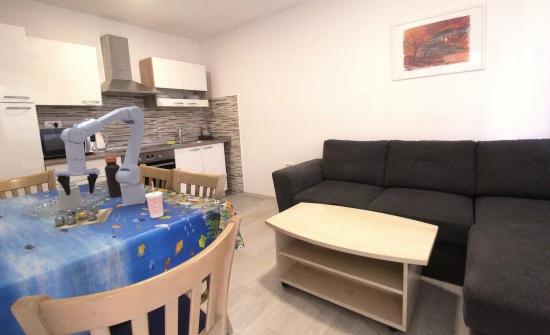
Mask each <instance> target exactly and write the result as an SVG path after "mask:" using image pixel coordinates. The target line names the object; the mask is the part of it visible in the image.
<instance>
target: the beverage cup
mask: <svg viewBox="0 0 550 335" xmlns="http://www.w3.org/2000/svg"><path fill="white" fill-rule="evenodd" d="M151 189H152V192H148V193H145V196H146V201H147V202H146V203H147V207H148V210H149V211H148V212H149V216H150V218H152V219H157V218H160V217H163V216H164V206H163V195H164V194H163V192H162V191H155V188H154V182H153V180H151Z"/></svg>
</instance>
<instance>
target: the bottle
mask: <svg viewBox="0 0 550 335" xmlns="http://www.w3.org/2000/svg"><path fill="white" fill-rule="evenodd" d="M117 160H118V159H117V156H107V157H104V161H105V164H106V165H105V166H104V173H105V179H106V185H107V189H108V195H109V197H110V198H117V197H118V198H119V197H122V193H121V187H120V183H119V182H118V181H117V180H116V173H117V172H118V171H119V168H120V166H121V165H119V164H117Z"/></svg>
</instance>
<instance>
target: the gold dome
mask: <svg viewBox="0 0 550 335" xmlns="http://www.w3.org/2000/svg"><path fill="white" fill-rule="evenodd" d="M89 211H90V209H88V210H87V209H85V210H84V209H83V211H79V212H77V213H75V215H76V219H77V220H84V219H87V215H86V213H88V212H89Z"/></svg>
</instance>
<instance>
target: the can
mask: <svg viewBox="0 0 550 335" xmlns="http://www.w3.org/2000/svg"><path fill="white" fill-rule="evenodd" d="M79 186H80V185H78V184H77V183H76V182H70V190H71V194H70V195H68V196H67V195H66V193H65V191H64V189H63V187H62V186H61V184H59V185H58V187H57V189H56V191H57V195H58V200H59V204H60V210H61V212H64V210H67V209H74V208H77V207H83V200H82V196H81V192H80V187H79ZM83 208H84V207H83Z"/></svg>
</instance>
